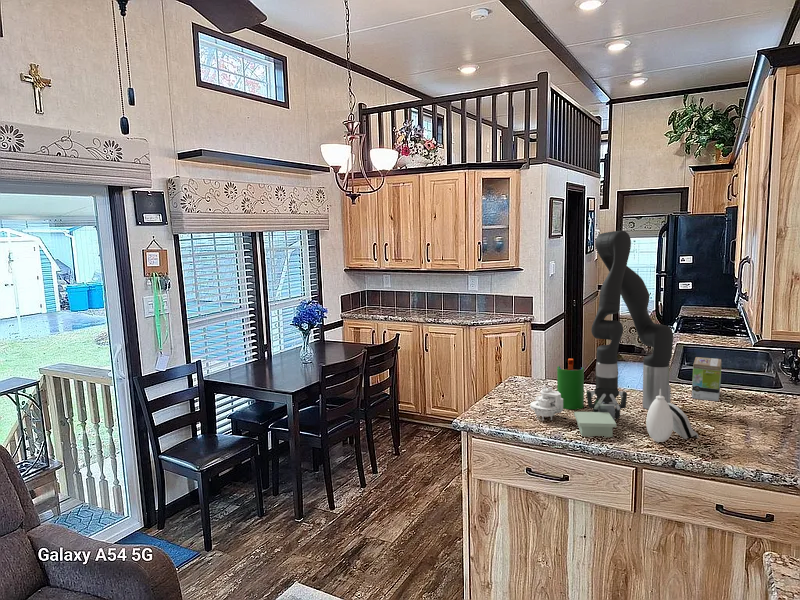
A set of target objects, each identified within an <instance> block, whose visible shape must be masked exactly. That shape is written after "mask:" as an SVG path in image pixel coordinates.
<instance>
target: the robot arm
mask: <svg viewBox="0 0 800 600" xmlns="http://www.w3.org/2000/svg"><path fill="white" fill-rule="evenodd" d="M594 242H595V248H596V249H595V250H596V251H597V254H598V256H599V258H600V260H601V261H602V262H603V264H604V266H606V269H607V270H608V274H607V276H606V278H605V279H604V281H603V282H602V284H601V287H600V290H599V299H598V300H599V301H598V309H597V311H596V315H595V318H594V320H593V321H592V325H591V329H590V330H591V335H592V336H593V338H595V339H596V340H607V341H608V340H610V343H609V344H603V345H602V344H601V345H599V346H597V348H596V365H595V389H594V390H590V389H589V390H588V389H587V390H586V400H587V401H586V402H587V406H588V408H590V409H592V412H598V409H597V408H598V407H599V405H600V404H601V402H613V403H614V404H615V420H616V421H617V420H619V419H620V416H621V410H622V409H625V408H626V407H627V398H628V392H627V391H625V390H622V391H621V390H619V382H618V381H619V368H618V353H619V352H618V351H619V346H620V342H621V339H622V336H623V333H624V327H623V324H622V322H621V321H620V320H610V319H606V318H607V316H609V315H614V314H618V313H619V312H620V305H621V299H622V301H623V302H624V304H625V306H626V308H627V310H628V312H629V315H630V317H631V319H632V322H633V324H634V327H635V330H636V333H637V336H638V338H639V340H640V342H641V344H643V345H644V346H647V347H651V348H653V349H652V354H647V355H645V356H644V357H643V361H642V362H643V365H642V408H643V409H645V410H649V408H650V406H651V404H652V402H653V401H654V400H655V399H656V396H659V393H660V389H661V396H664V397H665V400H666V402H667V403H671V400H672V399H671V393H672V387H671V386H672V385H670V363H671V360H672V357H673V347H674V345H673V344H674V332H673V330H672V328H671V327H670V326H668V325H664V324H661V323H655V322H653V320H652V318H651V317H650V314H649V312H648V307H649V304H650V303H649V302H650V293H649V291H648V287H647V285H646V284H645V281H644V280H643V278H642V277H641V276H640V275H639V274H638V273H636V272H635V271H634V270H633V269H631V268H630V267H629V266H628V262H629V258H630V253H631V247H632V241H631V237H630V234H629V233H628V232H627V231H626V230H616V231H615V230H614V231H608V232H603V233H600V234H598V235H597V236H596V237H595V241H594ZM594 395H595V396H596V397H595V401H594V403H593V397H594ZM618 396H620V398H621V399H620V404H619V403H618V401H617V399H616V398H618Z"/></svg>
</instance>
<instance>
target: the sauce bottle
mask: <svg viewBox="0 0 800 600" xmlns="http://www.w3.org/2000/svg"><path fill="white" fill-rule="evenodd" d="M647 410H648V409H647ZM646 414H647V415H646V421H645V422H646V423H645V424H646V431H647V433H648V434H649V438H650V439H652V440H653V441H654V442H656V443H659V442H662V443H664V442H666V441H668V440H669V438H670V437H671V435H672V433H673V416H672V412H671V410H670V407H669V405H668V403H667V402H666V400H665V397H664V396H661V389H660V393H659V396H656V399H655V400H654V401H653V402H652V404H651V406H650V408H649V410H648V411H647V413H646Z"/></svg>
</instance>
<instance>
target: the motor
mask: <svg viewBox="0 0 800 600" xmlns="http://www.w3.org/2000/svg"><path fill="white" fill-rule="evenodd" d="M567 363H568V364H567V368H565V369H564V368H561V366H560V365H559V366H557V368H556V369H557V371H556V373H557V378H556V379H557V380H556V381H557V382H556V383H557V386H556V387H557V388H556V391H558V392H559V393H561V398H563V410H581V409H583V408H584V407H585V398H584V397H585V390H584V388H585V385H584V382H585V378H584V377H585V373H584V372H585V370H584V369H585V368H584V367H580V369H574V358H568V359H567Z"/></svg>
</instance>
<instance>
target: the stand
mask: <svg viewBox="0 0 800 600" xmlns="http://www.w3.org/2000/svg"><path fill="white" fill-rule="evenodd" d="M573 416H574V418H575V420H576V423H577V424H576V425H577V426H578V427H577V428H579V429H578V431H579V432H580V435H581V437H593V436H602V437H603V436H604V437H603V438H613V437H614V436H613V435H614V434H613V433H614V432H613V428H617V423H616V421H614V419H613V418H612V416H611V415H610V413H609V412H593V411H573ZM602 437H601V438H602Z"/></svg>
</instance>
